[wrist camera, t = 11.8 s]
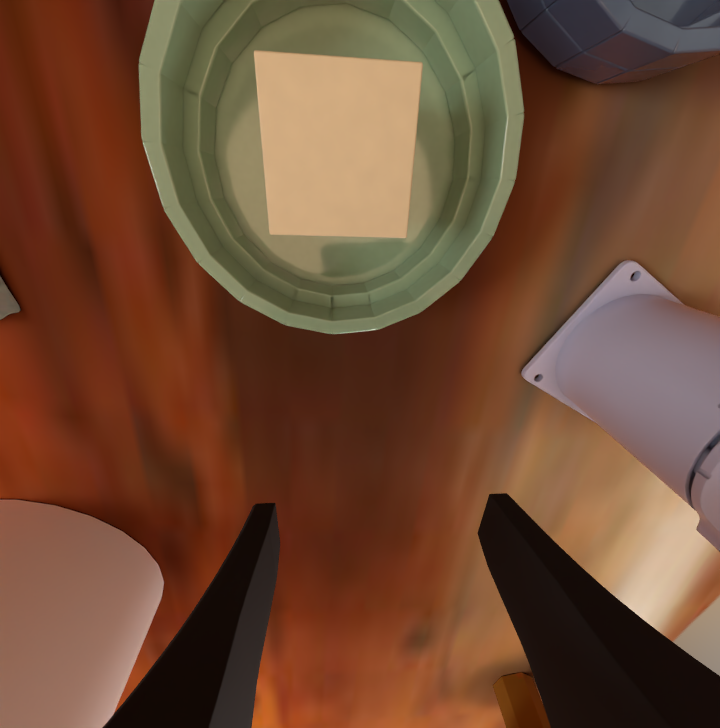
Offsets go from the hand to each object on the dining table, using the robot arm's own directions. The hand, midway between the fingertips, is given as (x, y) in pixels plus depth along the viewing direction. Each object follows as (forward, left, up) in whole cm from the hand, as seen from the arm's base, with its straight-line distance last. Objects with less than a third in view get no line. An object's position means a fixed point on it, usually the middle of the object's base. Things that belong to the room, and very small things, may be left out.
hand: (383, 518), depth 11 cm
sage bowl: (+7, -9, -9) cm, 14 cm away
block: (+7, -9, -9) cm, 14 cm away
